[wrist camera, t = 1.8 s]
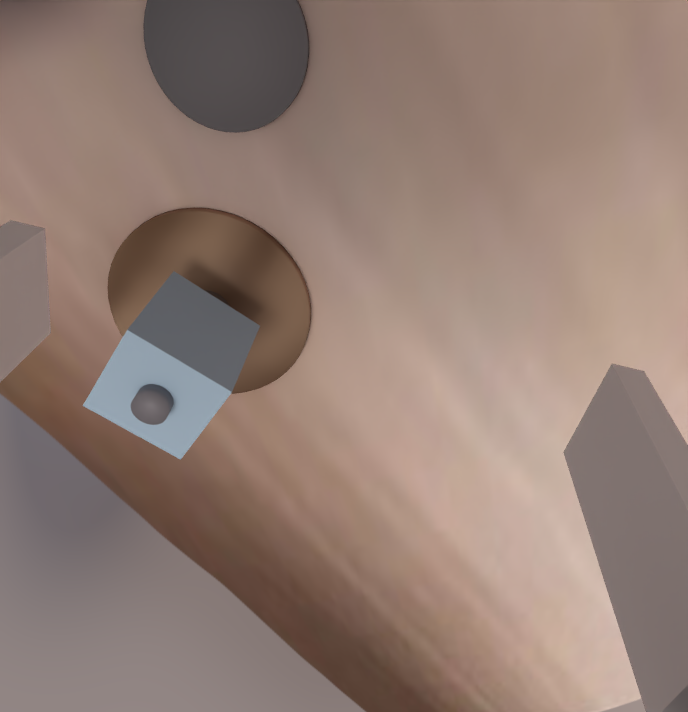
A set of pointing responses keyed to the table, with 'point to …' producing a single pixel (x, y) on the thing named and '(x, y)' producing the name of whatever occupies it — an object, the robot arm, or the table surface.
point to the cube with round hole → (174, 366)
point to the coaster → (228, 58)
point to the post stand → (218, 281)
